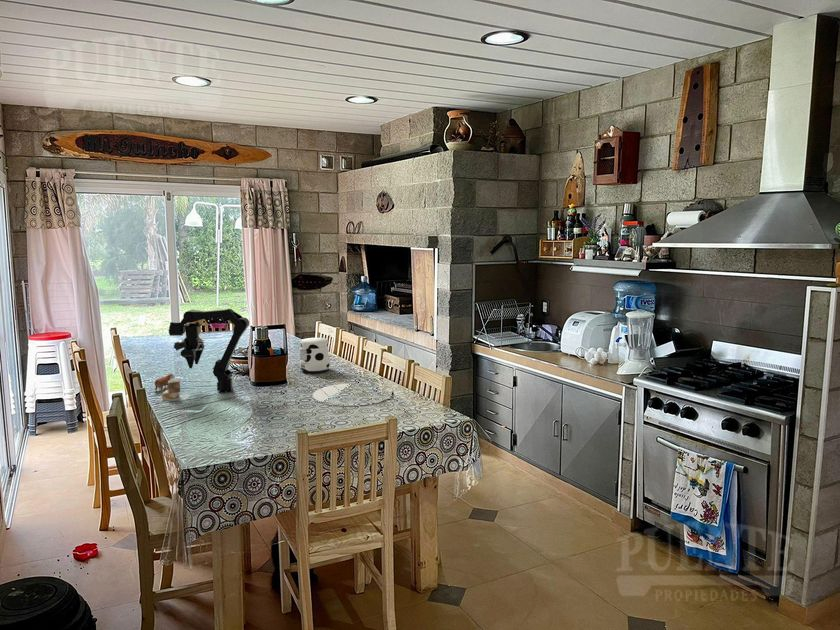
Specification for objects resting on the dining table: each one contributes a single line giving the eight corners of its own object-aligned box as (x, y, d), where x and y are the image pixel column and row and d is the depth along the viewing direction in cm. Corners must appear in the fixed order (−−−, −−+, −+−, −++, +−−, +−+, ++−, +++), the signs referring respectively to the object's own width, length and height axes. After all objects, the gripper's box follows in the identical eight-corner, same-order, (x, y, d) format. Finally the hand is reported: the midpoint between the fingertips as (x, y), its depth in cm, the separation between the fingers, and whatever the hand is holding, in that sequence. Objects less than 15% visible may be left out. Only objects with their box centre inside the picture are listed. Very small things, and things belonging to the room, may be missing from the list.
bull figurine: (177, 387, 313) (176, 372, 312) (159, 394, 300) (158, 378, 299) (170, 387, 314) (169, 371, 313) (152, 393, 301) (151, 377, 300)
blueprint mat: (191, 396, 296) (191, 394, 296) (184, 402, 286) (184, 400, 286) (166, 396, 295) (166, 394, 295) (158, 402, 286) (158, 400, 285)
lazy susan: (377, 381, 324) (377, 375, 324) (407, 400, 289) (407, 393, 289) (303, 390, 307) (303, 384, 307) (325, 411, 272) (325, 404, 272)
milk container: (333, 367, 356) (332, 337, 353) (326, 374, 339) (325, 343, 336) (304, 367, 358) (303, 337, 355) (295, 374, 341) (294, 342, 338)
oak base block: (179, 395, 294) (179, 389, 293) (175, 399, 288) (174, 393, 287) (166, 396, 293) (166, 390, 293) (162, 399, 287) (162, 393, 287)
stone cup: (198, 340, 443) (197, 320, 440) (205, 342, 434) (204, 322, 432) (177, 343, 432) (176, 322, 430) (184, 345, 424) (183, 324, 422)
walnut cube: (180, 389, 294) (179, 379, 293) (179, 392, 289) (179, 381, 288) (169, 390, 292) (168, 380, 291) (168, 393, 288) (167, 382, 287)
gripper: (181, 332, 310) (183, 362, 312) (168, 339, 291) (170, 370, 293) (203, 332, 310) (205, 362, 312) (192, 338, 292) (194, 370, 294)
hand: (193, 366), depth 303 cm, fingers open, 9 cm apart
